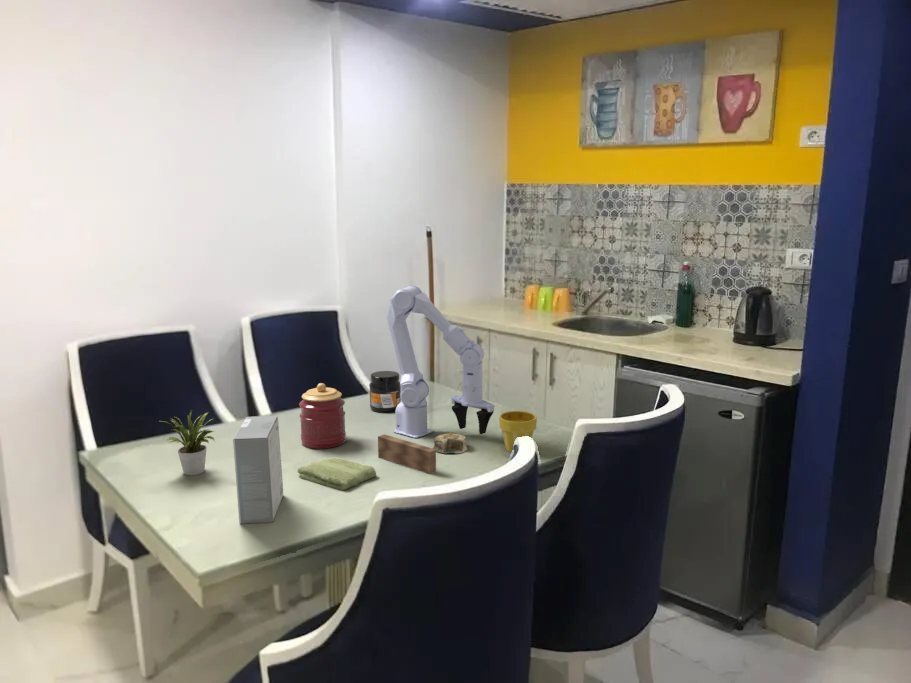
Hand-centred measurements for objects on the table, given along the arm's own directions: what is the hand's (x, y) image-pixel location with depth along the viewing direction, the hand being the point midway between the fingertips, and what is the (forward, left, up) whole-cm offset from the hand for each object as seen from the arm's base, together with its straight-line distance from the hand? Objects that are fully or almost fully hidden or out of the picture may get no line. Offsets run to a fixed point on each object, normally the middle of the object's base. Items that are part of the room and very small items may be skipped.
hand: (472, 430), depth 216 cm
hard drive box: (-6, -70, -2) cm, 70 cm away
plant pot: (+16, 0, -2) cm, 16 cm away
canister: (-31, -31, -2) cm, 44 cm away
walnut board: (0, -28, -2) cm, 28 cm away
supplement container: (-41, +4, -2) cm, 41 cm away
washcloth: (-8, -46, -3) cm, 46 cm away
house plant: (-39, -69, -2) cm, 79 cm away
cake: (+1, -11, -3) cm, 11 cm away
